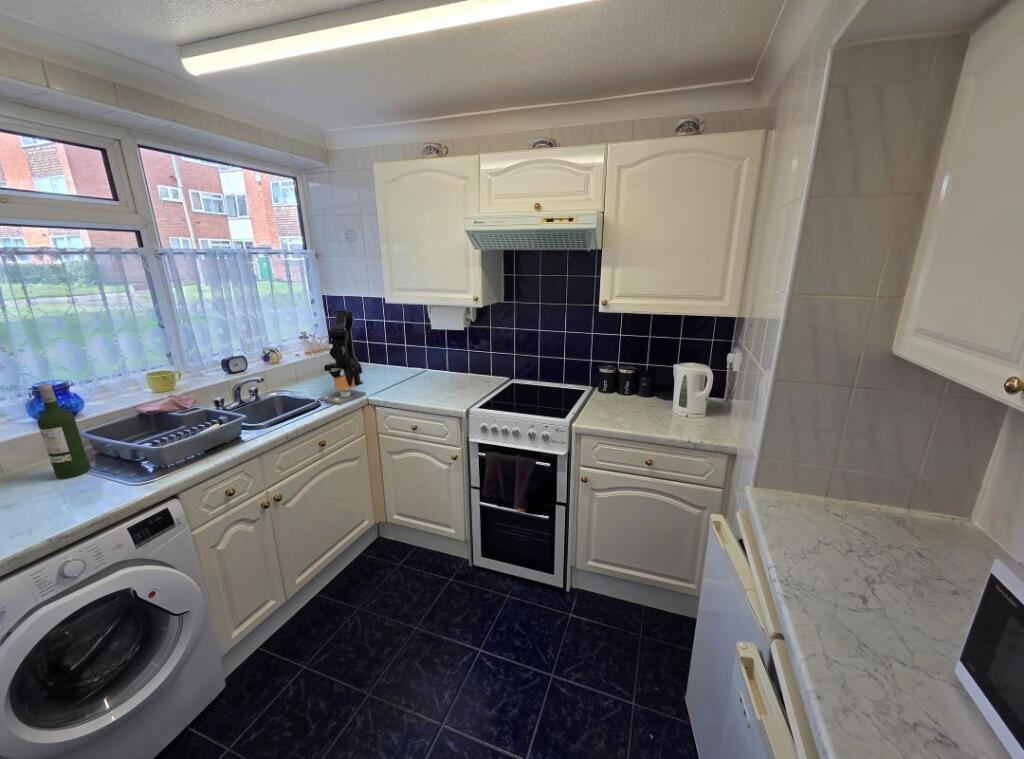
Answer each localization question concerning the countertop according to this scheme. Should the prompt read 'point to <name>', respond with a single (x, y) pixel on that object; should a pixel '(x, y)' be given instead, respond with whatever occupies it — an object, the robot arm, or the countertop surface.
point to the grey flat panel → (339, 400)
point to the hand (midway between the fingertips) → (344, 385)
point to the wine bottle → (61, 437)
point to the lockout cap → (342, 383)
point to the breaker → (345, 393)
